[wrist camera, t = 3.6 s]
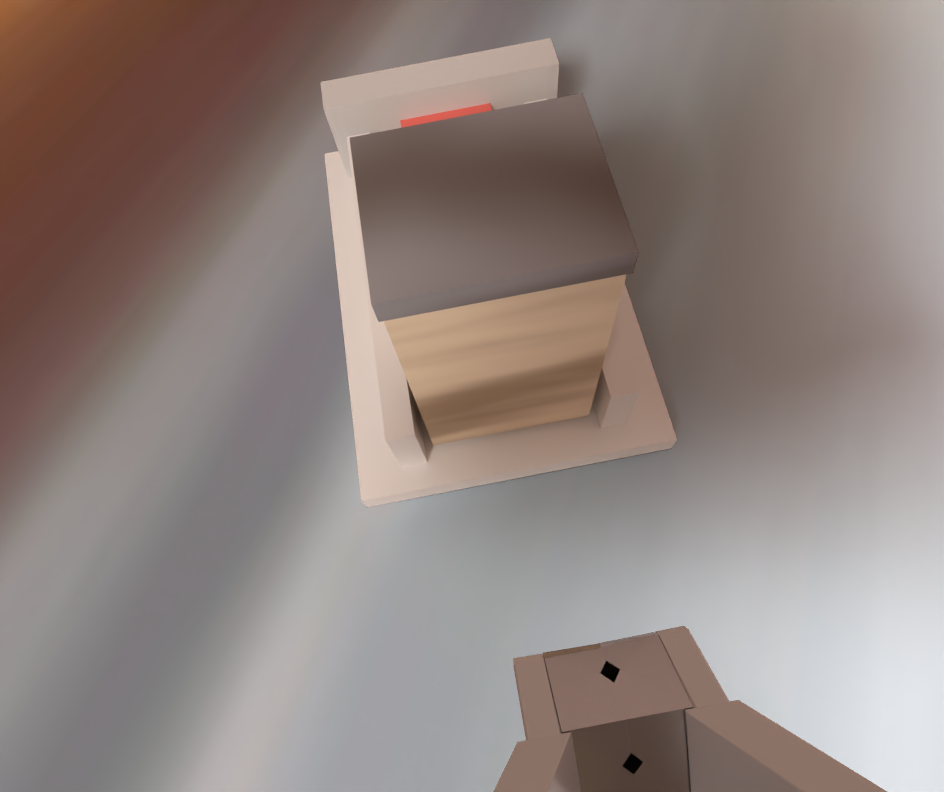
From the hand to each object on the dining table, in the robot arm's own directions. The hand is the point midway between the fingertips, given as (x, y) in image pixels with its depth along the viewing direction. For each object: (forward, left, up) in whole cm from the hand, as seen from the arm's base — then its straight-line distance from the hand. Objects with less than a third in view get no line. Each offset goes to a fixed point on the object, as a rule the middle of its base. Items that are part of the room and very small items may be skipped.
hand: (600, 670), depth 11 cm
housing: (-10, +12, -12) cm, 19 cm away
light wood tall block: (-7, +8, -10) cm, 15 cm away
